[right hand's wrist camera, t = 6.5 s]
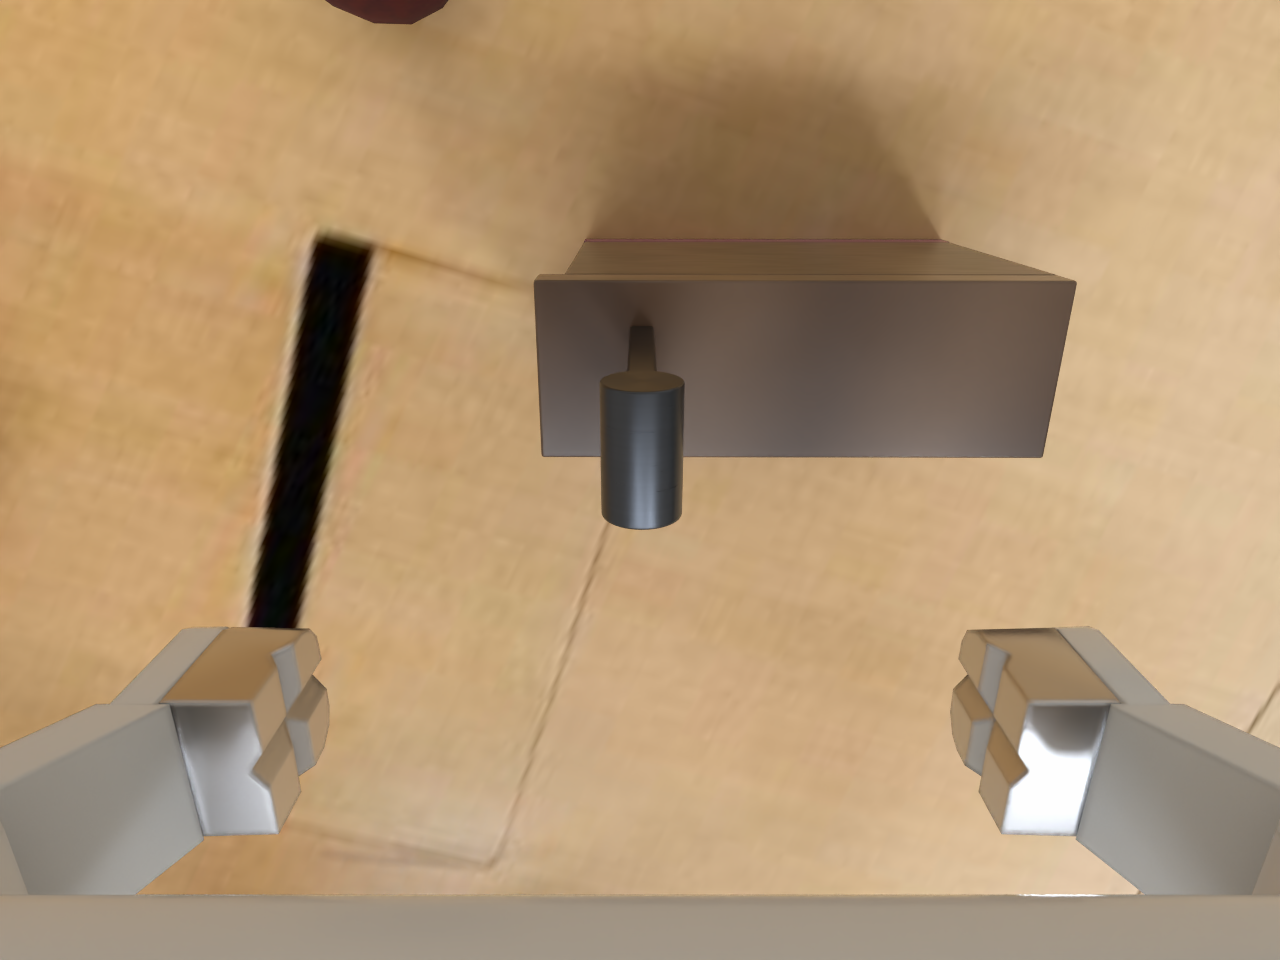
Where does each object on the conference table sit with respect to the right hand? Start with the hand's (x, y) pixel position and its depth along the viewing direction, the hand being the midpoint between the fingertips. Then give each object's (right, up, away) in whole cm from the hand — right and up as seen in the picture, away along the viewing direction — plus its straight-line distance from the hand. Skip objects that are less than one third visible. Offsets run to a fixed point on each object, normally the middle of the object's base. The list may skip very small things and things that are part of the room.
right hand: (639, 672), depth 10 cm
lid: (+5, +6, +15) cm, 17 cm away
